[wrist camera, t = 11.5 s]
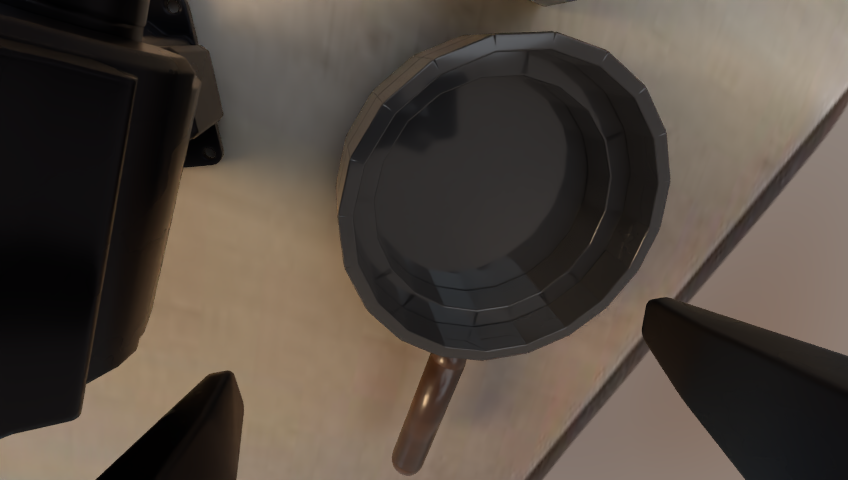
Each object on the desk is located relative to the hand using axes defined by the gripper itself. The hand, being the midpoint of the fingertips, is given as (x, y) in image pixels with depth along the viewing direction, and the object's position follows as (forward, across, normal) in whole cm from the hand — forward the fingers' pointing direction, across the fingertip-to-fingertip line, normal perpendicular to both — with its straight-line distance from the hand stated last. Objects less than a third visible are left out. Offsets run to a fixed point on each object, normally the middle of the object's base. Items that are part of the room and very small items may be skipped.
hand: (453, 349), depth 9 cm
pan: (+13, -5, +1) cm, 14 cm away
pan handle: (+10, 0, +12) cm, 16 cm away
